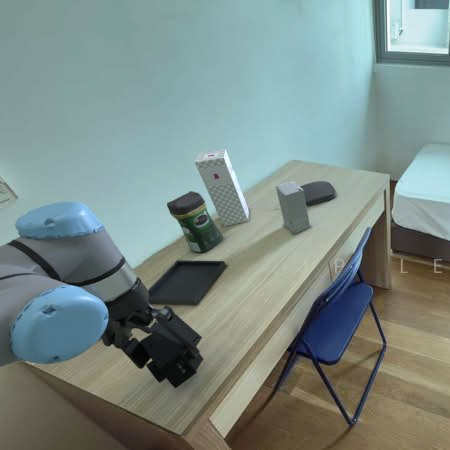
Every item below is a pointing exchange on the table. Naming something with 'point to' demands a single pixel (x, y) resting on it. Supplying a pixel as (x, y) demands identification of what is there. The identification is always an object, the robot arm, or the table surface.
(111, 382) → the table surface
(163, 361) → the digital camera
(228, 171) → the box
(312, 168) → the table surface
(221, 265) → the shallow black tray
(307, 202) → the media streaming box
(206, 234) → the coffee jar
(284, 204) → the cosmetic box
